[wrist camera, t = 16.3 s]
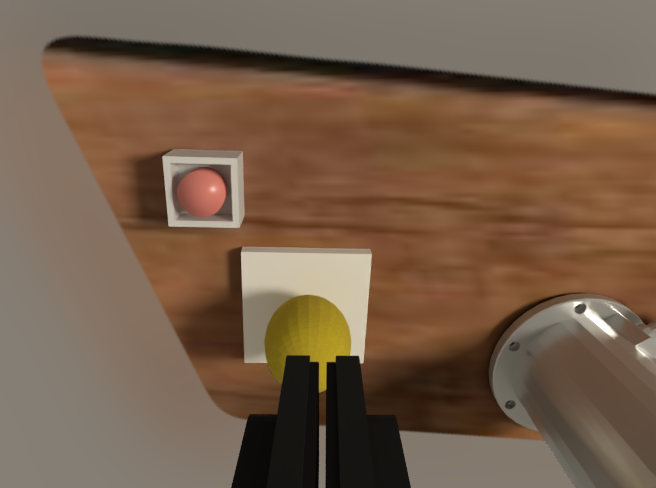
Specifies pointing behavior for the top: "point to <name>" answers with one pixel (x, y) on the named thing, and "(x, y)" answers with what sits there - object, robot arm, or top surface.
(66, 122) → the top surface
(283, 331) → the lemon
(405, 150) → the top surface
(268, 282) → the paper pad
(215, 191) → the button
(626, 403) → the robot arm
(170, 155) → the button base
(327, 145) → the top surface
